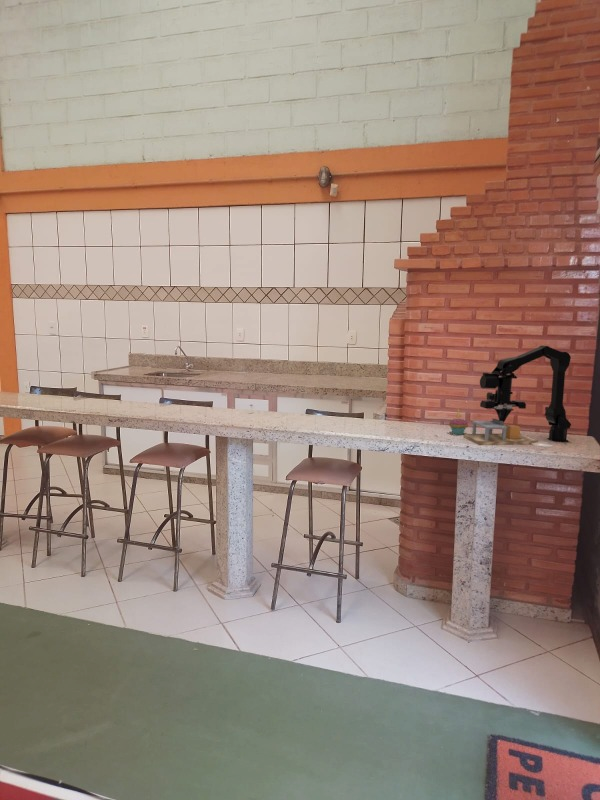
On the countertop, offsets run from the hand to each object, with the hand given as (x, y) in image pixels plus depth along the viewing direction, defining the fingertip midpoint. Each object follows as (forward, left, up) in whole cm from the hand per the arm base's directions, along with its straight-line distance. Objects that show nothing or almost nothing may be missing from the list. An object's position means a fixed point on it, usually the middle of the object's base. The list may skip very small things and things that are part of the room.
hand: (501, 424), depth 251 cm
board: (0, 0, -8) cm, 8 cm away
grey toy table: (+6, 0, -6) cm, 8 cm away
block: (-5, 0, -8) cm, 9 cm away
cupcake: (+13, -16, -8) cm, 22 cm away
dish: (-14, +9, -8) cm, 19 cm away
